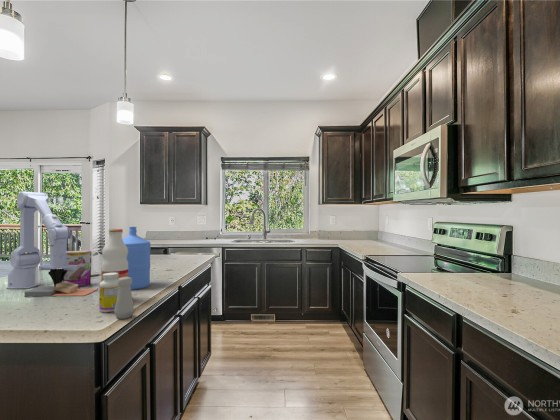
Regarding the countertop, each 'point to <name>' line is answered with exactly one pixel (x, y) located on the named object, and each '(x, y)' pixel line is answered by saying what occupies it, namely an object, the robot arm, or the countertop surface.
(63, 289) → the oak tile
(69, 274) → the candy bar box
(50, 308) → the countertop surface
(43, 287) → the grey square tile
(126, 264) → the fruit juice
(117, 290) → the supplement bottle
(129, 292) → the salt shaker
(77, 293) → the mat
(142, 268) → the water jug
